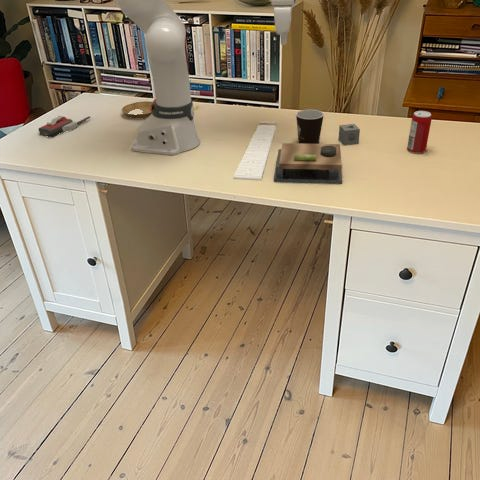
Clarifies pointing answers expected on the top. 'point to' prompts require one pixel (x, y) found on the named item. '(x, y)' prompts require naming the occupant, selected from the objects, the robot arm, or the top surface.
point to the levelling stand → (306, 175)
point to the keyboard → (256, 154)
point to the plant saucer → (138, 105)
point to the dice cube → (349, 134)
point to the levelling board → (309, 151)
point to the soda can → (419, 132)
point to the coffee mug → (309, 126)
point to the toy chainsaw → (59, 126)
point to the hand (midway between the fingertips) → (283, 43)
